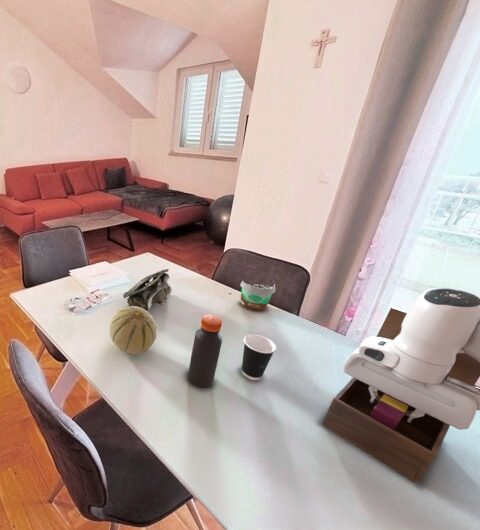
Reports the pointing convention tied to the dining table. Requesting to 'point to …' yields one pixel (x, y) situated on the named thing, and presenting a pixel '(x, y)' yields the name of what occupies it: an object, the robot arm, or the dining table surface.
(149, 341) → the cantaloupe
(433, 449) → the chest
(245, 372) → the dixie cup
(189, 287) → the dining table surface
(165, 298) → the hollow geode rock
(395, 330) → the lid
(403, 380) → the robot arm
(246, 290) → the food container
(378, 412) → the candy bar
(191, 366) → the bottle
